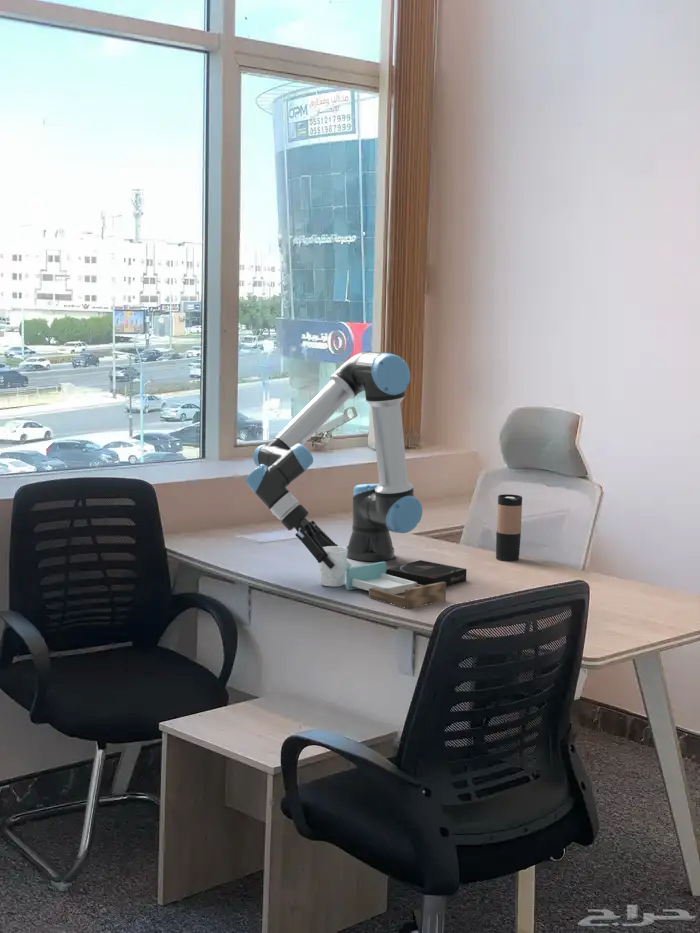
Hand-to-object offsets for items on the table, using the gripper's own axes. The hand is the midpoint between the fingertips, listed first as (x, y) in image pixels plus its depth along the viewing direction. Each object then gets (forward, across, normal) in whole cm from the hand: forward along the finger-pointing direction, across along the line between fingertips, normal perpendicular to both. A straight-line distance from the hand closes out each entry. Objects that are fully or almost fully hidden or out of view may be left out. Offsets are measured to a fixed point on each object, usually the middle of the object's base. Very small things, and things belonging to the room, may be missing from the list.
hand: (344, 572), depth 326 cm
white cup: (0, 0, -5) cm, 5 cm away
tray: (+11, +4, +6) cm, 13 cm away
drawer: (+17, +9, +11) cm, 22 cm away
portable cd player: (+18, -13, +11) cm, 25 cm away
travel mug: (+33, -50, +26) cm, 65 cm away
